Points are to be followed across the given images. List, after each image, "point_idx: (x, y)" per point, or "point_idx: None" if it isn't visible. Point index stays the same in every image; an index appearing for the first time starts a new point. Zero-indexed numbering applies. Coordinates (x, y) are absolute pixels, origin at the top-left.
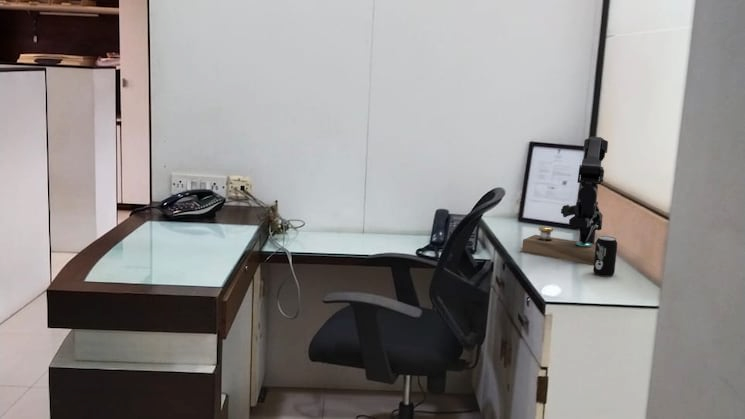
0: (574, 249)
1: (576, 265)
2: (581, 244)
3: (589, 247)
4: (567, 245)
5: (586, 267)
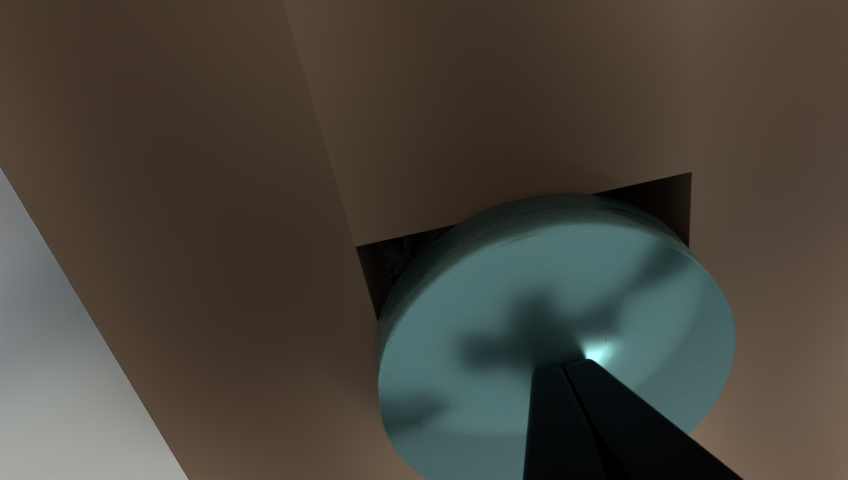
0: (128, 346)
1: (5, 360)
2: (383, 418)
3: None
4: (226, 98)
5: (66, 464)
